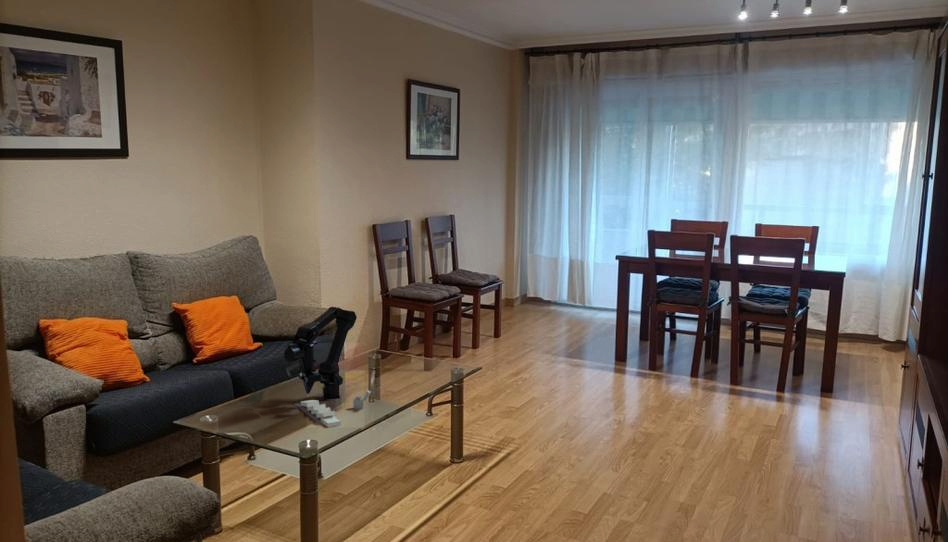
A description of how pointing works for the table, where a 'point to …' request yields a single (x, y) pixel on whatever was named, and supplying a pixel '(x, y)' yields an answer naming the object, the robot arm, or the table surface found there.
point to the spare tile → (309, 403)
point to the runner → (309, 413)
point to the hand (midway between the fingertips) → (307, 393)
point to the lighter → (360, 401)
